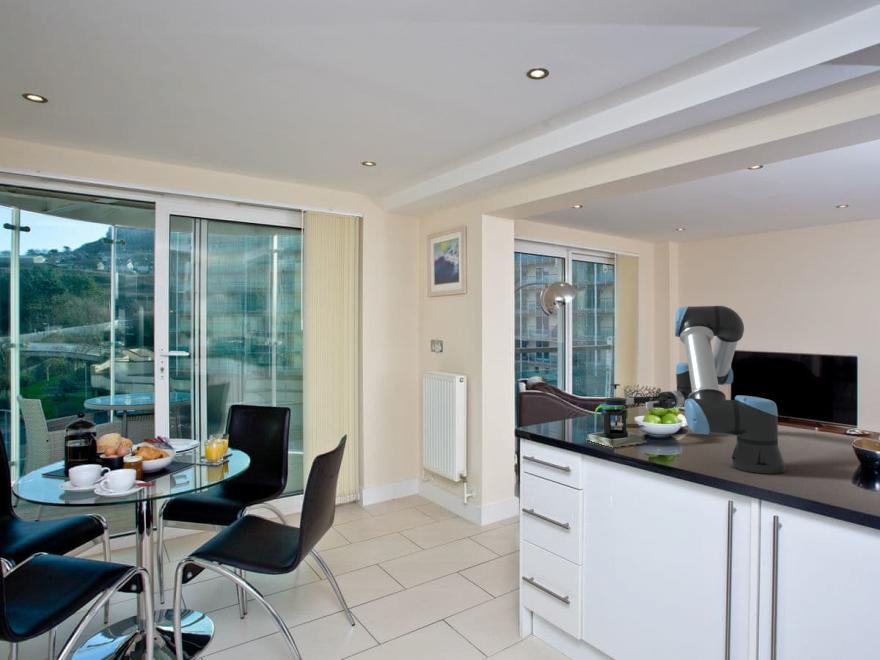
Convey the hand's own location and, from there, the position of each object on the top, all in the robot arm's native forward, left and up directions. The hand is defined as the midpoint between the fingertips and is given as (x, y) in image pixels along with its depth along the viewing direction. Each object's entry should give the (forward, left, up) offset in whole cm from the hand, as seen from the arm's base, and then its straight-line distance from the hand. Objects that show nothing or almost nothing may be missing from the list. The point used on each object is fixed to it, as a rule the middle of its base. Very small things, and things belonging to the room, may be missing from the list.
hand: (633, 403), depth 214 cm
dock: (0, +11, -15) cm, 18 cm away
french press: (0, +10, -14) cm, 18 cm away
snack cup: (+28, -13, -15) cm, 35 cm away
